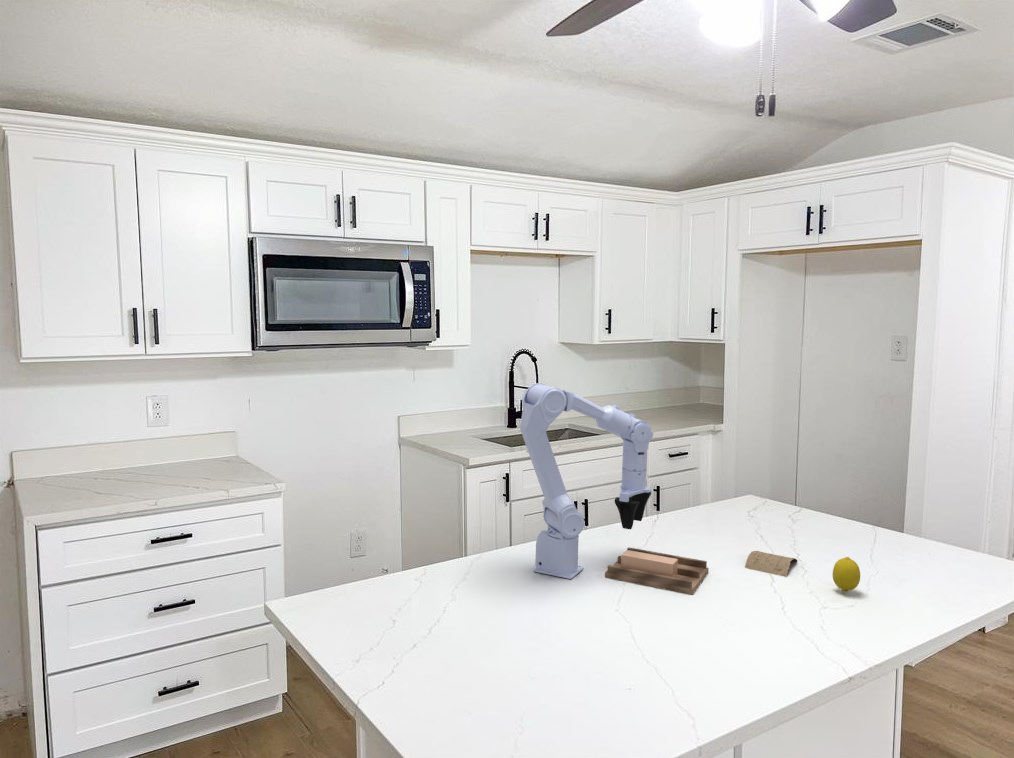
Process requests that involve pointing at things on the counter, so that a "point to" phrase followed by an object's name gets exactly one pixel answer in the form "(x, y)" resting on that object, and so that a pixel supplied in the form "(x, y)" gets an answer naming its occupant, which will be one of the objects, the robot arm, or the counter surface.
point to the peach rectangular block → (649, 563)
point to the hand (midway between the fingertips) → (632, 524)
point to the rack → (685, 582)
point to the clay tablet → (768, 563)
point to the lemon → (846, 574)
